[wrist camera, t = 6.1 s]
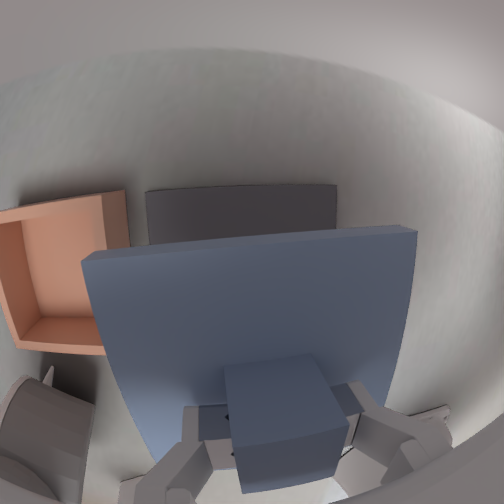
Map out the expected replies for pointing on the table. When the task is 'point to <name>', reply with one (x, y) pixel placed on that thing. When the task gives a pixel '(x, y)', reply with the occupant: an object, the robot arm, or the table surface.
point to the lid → (255, 338)
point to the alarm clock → (45, 439)
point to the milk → (128, 490)
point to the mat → (238, 211)
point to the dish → (56, 268)
